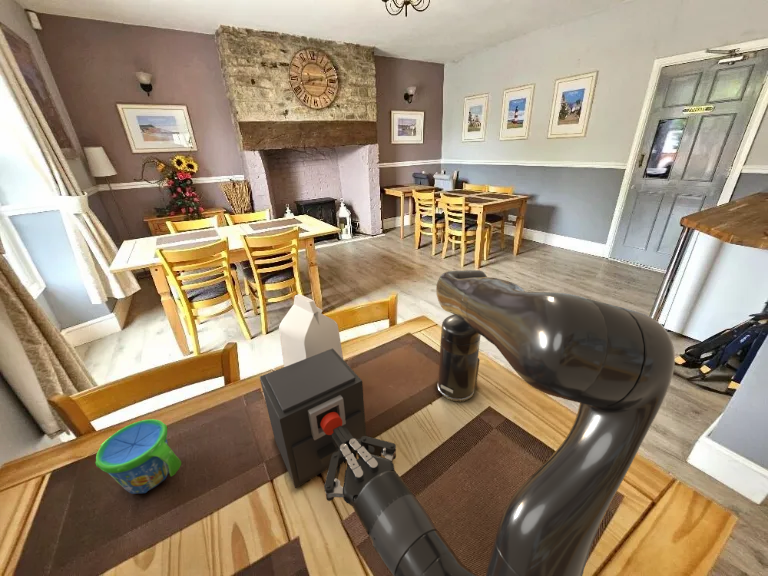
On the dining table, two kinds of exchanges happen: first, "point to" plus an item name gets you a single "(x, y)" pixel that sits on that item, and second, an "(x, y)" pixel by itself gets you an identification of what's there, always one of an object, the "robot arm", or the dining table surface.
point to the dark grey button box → (312, 410)
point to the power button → (330, 422)
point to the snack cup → (138, 456)
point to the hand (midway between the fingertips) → (336, 431)
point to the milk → (307, 332)
